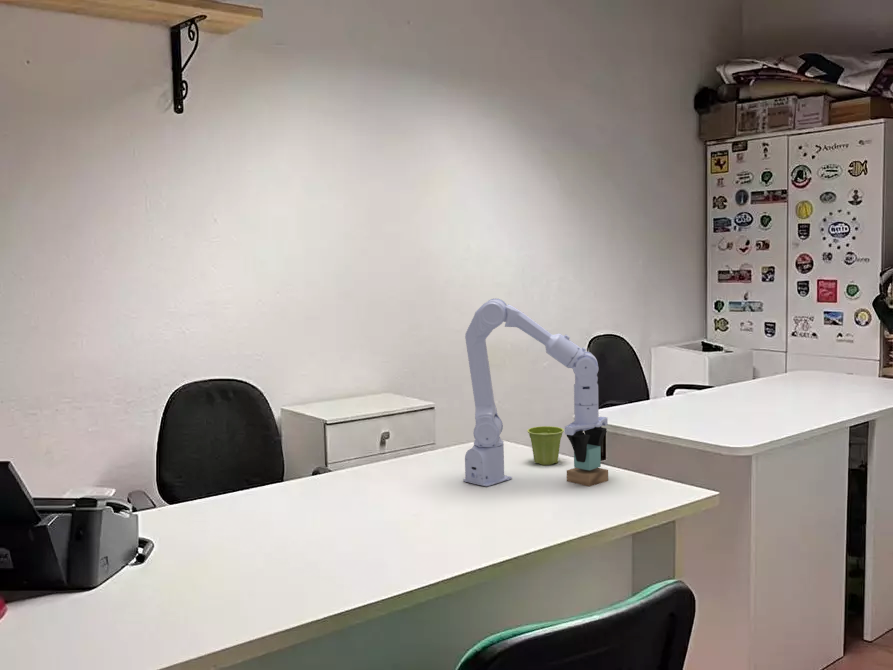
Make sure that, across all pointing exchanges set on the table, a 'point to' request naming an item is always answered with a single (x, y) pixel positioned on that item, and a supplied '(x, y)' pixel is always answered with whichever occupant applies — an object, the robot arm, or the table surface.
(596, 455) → the teal cube
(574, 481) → the walnut slab
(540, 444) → the plant pot
